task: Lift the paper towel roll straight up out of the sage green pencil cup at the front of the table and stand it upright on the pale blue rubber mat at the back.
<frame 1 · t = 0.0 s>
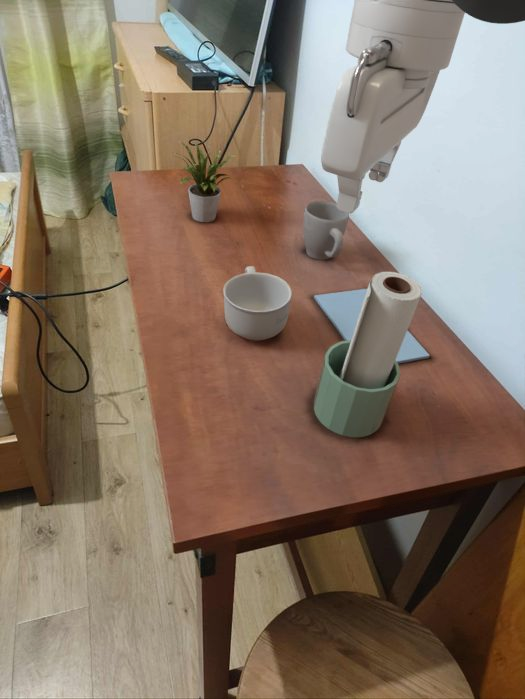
hand: (363, 193, 51), 32 cm above the table, tool pointing down, fingers open, 8 cm apart
house plant: (197, 216, 114), on the table
sage green pencil cup: (347, 410, 73), on the table
paper towel roll: (349, 407, 74), resting on sage green pencil cup
mat: (368, 326, 89), on the table
mug: (321, 257, 106), on the table
teacup: (253, 323, 87), on the table
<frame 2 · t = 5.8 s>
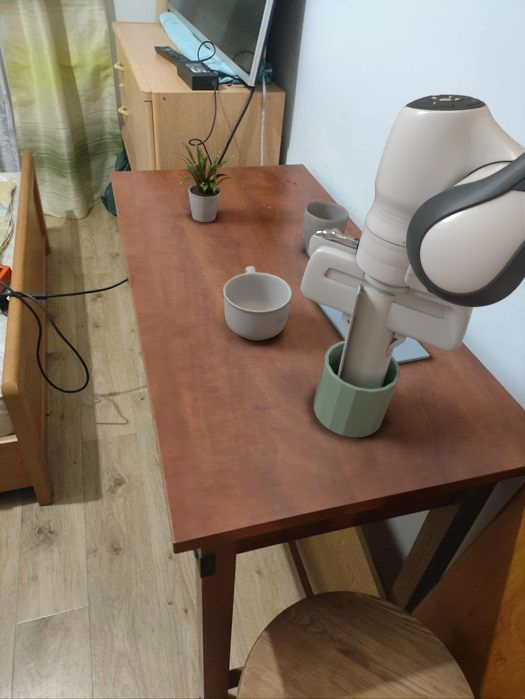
hand: (368, 346, 65), 12 cm above the table, tool pointing down, fingers closed on paper towel roll, 3 cm apart
paper towel roll: (349, 407, 74), resting on sage green pencil cup, touching gripper
everything else where it was.
when the fingers open (12 cm above the table, at t = 15.3 s): paper towel roll stays where it is, resting on mat.
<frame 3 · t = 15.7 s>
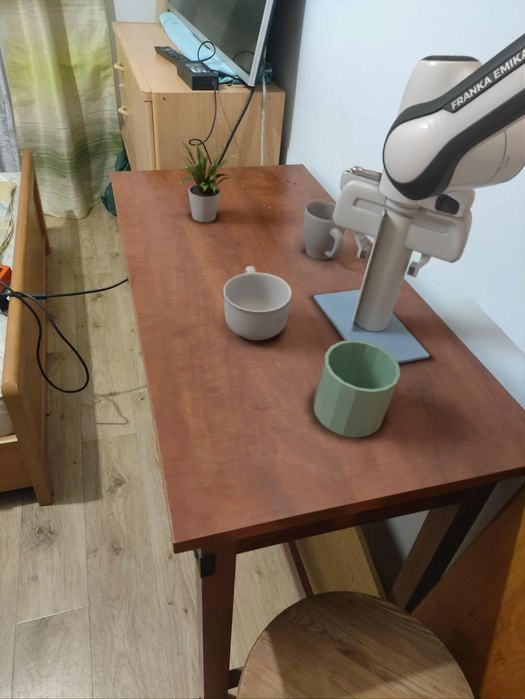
hand: (386, 266, 81), 12 cm above the table, tool pointing down, fingers open, 7 cm apart
paper towel roll: (367, 322, 89), resting on mat
everything else where it was.
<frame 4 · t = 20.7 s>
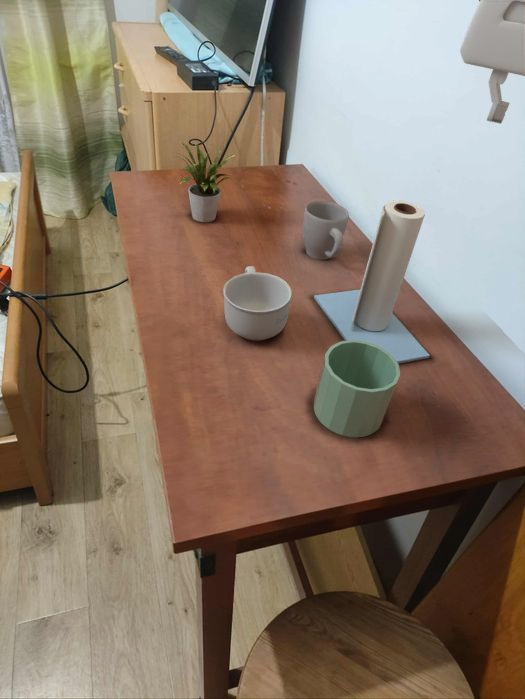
nothing on the table moved.
at the end: paper towel roll inside the target area on the mat (0.6 cm from its centre), point 0.4 cm above the mat's base; paper towel roll tilted 0° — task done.
